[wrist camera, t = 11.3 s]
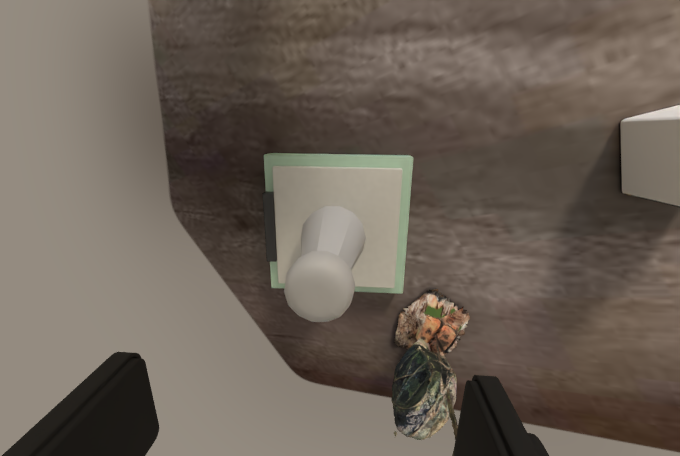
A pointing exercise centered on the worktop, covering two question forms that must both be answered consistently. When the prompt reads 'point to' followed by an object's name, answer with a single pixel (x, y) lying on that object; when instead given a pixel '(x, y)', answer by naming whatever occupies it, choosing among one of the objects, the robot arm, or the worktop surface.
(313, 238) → the salt shaker
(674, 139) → the medicine bottle
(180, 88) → the worktop surface
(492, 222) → the worktop surface
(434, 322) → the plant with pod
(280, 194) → the scale
